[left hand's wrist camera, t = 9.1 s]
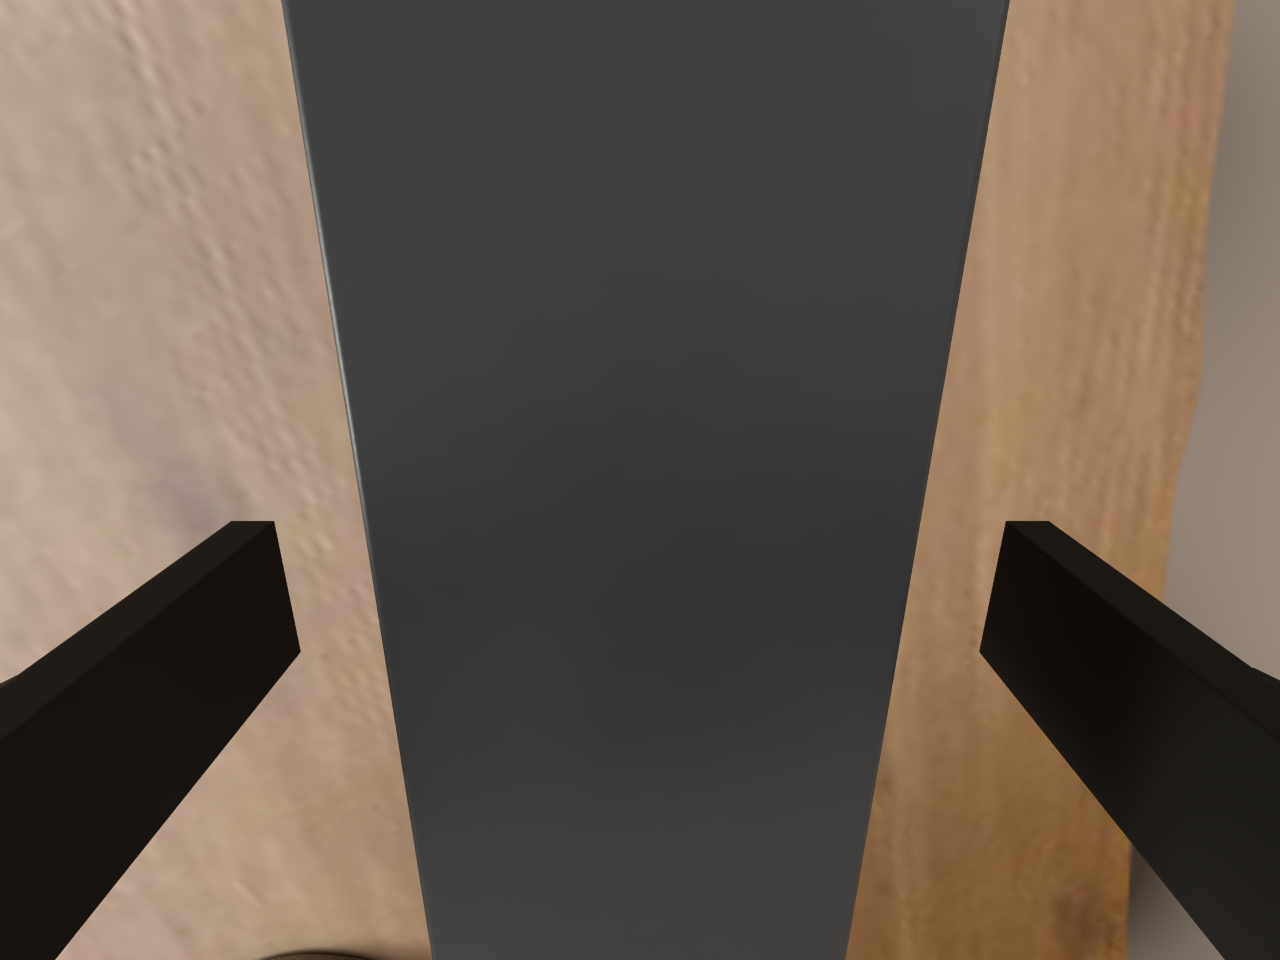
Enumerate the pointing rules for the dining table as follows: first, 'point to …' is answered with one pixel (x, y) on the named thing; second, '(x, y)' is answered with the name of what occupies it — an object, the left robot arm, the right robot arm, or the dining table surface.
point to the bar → (642, 435)
